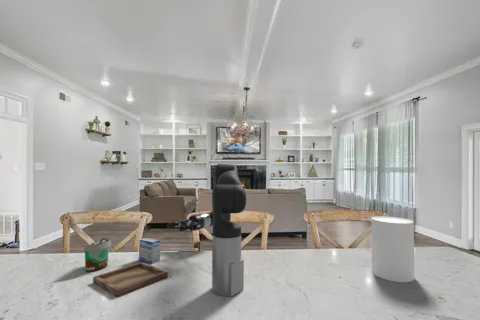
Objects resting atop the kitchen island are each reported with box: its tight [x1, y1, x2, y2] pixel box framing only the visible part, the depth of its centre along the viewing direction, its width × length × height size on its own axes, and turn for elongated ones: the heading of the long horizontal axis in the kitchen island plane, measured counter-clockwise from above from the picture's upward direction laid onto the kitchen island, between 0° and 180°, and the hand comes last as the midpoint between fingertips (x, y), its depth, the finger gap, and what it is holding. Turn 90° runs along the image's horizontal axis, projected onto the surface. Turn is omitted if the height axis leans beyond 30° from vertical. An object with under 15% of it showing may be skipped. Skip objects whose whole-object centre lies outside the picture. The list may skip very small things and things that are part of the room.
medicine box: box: [138, 237, 161, 265], centre depth 109 cm, size 8×4×9 cm, turn 62°
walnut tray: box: [92, 261, 169, 298], centre depth 90 cm, size 16×18×2 cm
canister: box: [370, 215, 415, 283], centre depth 97 cm, size 14×14×20 cm
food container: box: [83, 237, 112, 273], centre depth 102 cm, size 12×6×10 cm, turn 179°
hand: (173, 227), depth 120 cm, fingers open, 8 cm apart
